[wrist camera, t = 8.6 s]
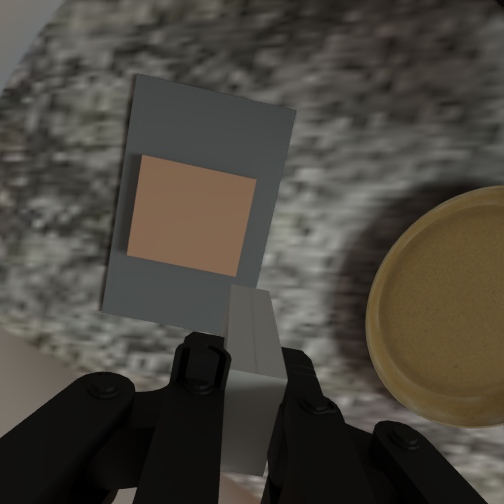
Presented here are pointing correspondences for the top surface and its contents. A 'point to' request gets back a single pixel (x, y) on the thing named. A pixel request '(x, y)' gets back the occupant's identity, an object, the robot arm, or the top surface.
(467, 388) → the plant saucer
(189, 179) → the tile
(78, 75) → the top surface
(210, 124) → the mat
